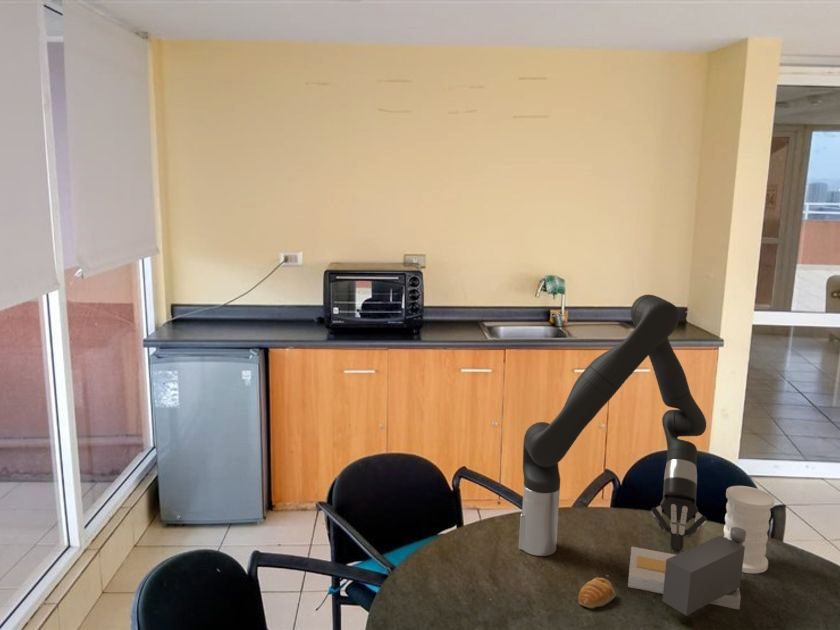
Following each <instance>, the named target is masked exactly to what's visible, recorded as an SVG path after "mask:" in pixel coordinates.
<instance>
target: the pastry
mask: <svg viewBox="0 0 840 630" xmlns="http://www.w3.org/2000/svg"><path fill="white" fill-rule="evenodd" d="M616 595H617V593H616V592H615V588H614V587H613V585H612V583H611V582H610V581H609V580H608V579H606V578H604V577H595V578H593V579H592V580H589V581H587V582H586V583H585V584H584V585H583V586H582V587H581V588H580V591H579V594H578V597H577V599H578V604H579V605H581V606H582V607H586V608H587V609H595V608H598V607H604V606H605V605H607V604H609V603H610V602H611V601H613V600H614V599H615V597H616Z"/></svg>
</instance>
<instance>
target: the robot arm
mask: <svg viewBox="0 0 840 630" xmlns="http://www.w3.org/2000/svg"><path fill="white" fill-rule="evenodd" d="M630 318H631V321H632V322H633V325H634V327H635V328H634V329H633V330H632V331H631V332H630V333H629V335H628V336H627V337H626V338H625V339H623V341H622V342H620V343H619V344H617V345H616V346H614V347H612V348H610V349H609V350H607V351H605V352H603V353H602V354H600V355H598V356H597V357H596V358H594V359H593V360H592V361H591V362H590V364H588V366H586V368H585V369H584V370H583V372H582V373H581V374H580V375H579V376H578V378H577V379H576V381H575V382H574V384H573V386H572V388H571V389H570V392H569V395H568V397H567V398H566V401H565V403H564V406H563V407H562V409H561V411H560V412H559V413H558V415H556V417H555V418H554V419H553V420H552V422H550V423H548V422H545V421H540V422H539V421H538V422H536V423H533V424H532V425H530V426H529V427H528V428H527V430H526V431H525V433H524V436H523V444H522V445H523V446H522V447H523V448H522V451H523V452H522V474H523V487H522V488H523V491H522V493H523V494H522V511H521V512H520V513H521V514H519V515H520V516H519V517H520V518H519V520H520V521H519V534H518V535H519V536H518V537H519V538H518V550H522V551H523V552H525V553H527V554H530V555H532V556H538V557H546V556H551V555H553V554H554V553H555V552H556V551H557V544H558V543H557V542H558V541H557V538H558V526H559V525H558V524H559V523H558V522H559V510H560V509H559V506H560V495H561V493H560V490H561V475H560V471H559V469H560V468H559V462H561V461H562V460H563V459H564V457H565V456H566V454H568V452H569V450H571V449H570V448H571V447H573V445H574V443H575V441H577V438H578V437H579V436H580V434H581V433H582V432H583V430H584V429H585V428H586V427H587V426H588V425H589V424H590V423H591V421H592V420H594V418H595V417H596V416H597V414H598V413H599V412H600V411H601V410H602V408H603V407H604V406H605V405H606V404H607V403H608V402H609V401H610V400H611V399H612V398H613V397H614V395H615V394H616V393H617V392H618V391H619V389H621V387H622V386H623V385H624V383H625V382H626V380H628V379H629V378H630V377H631V376H632V374H633V373H634V372H635V371H636V370H637V368H639V366H640V365H642V363H643V362H644V360H645V359H647V357H648V358H649V360H650V363H651V366H652V369H653V373H654V376H655V379H656V382H657V386H658V389H659V392H660V396H661V399H662V402H663V404H664V405H666V406H667V407H669V408H673V409H669V410H667V411H665V412H664V414H663V415H662V419H661V423H662V428H663V431H664V436H665V440H666V446H667V449H666V450H667V451H666V452H667V453H666V464H665V469H664V477H663V492H662V500H661V502H660V505H658V506H656V507H655V506H653V507H652V508H651V511H650V512H651V513H650V514H651V515H652V517H653V518H654V520H655V522H656V523H657V524H658V526H659V527H660V529H661V530H662V532H663V533H665V534H668V535H669V536H670V539H669V540H670V541H669V548H670V550H672V553H673V554H674V553H675V554H680V553H681V552H683V550H684V539H685V538H691V537H693V535H694V534H695V533H697V532H698V530H700V529H701V528H702V527H703V526H704V525H705V524H706V522H707V516H705V515H703V514H701V513H700V512H699V509H698V506H697V490H698V489H697V488H698V487H697V485H698V473H697V460H698V459H697V458H698V449H697V446H696V445H695V444H694V443H692V442H690V441H688V440H683V439H679V438H678V437H699V436H702V435H703V434H704V433H705V432H706V429H707V420H706V417H705V414H704V412H703V411H702V410H701V407H699V405H698V404H697V402H696V400H695V399H694V398H693V395H692V393H691V390H690V387H689V382H688V379H687V376H686V373H685V371H684V368H683V367H682V364H681V362H680V360H679V358H678V357H677V354H676V353H675V351H674V350H673V347H672V345H671V343H670V340H669V337H670V336H671V334H672V333H674V331H675V330H676V328H677V326H678V325H679V321H680V311H679V309H678V307H677V306H676V305H675V304H673V303H672V302H670V301H667V300H666V299H664V298H662V297H660V296H656V295H654V294H643V295H640V296H639V297H638V298H636V299H635V300H634V301H633V303H632V305H631V308H630ZM663 514H664V516H665V517H666V518H667V520H668V521H669V523H670V524H669V525H670V526H669V525H668V523H667V522H666V520H665V519H664V518H663V516H662V515H663ZM694 517H695V519H694V523H693V524H691V525H690V526H689V528H687V529H686V524H688V523H690V521H692V519H693V518H694ZM678 523H679V525H678V527H677V524H678ZM677 528H678V531H677ZM677 532H678V533H677Z"/></svg>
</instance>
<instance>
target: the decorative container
mask: <svg viewBox="0 0 840 630" xmlns="http://www.w3.org/2000/svg"><path fill="white" fill-rule="evenodd" d="M725 497H726V499H727V502H726V504H725V505H726V506H725V508H726V513H725V514H724V515H725V516H724V522H725V524H724V526H723V535H724V536H723V537H725V538H727V539H729V540H732V539H731V538H730V532H731V528H733V527H737V528H741V529H743V530H745V531H746V537H745V541H744V542H743V546H744V547H745V550H744V559H743V567H742V573H747V574H761V573H764V572H766V571H767V570H768V568H769V560H768V559H767V557H766V554H767V546H766V545H767V542H768V541H769V535H768V531H769V529H770V523H769V521H770V519H771V516H772V513H771V512H772V511H771V509H772V508H773V507H774V506H775V497H773V495H772V494H770V493H769V492H766V491H765V490H762V489H760V488H755V487H752V486H747V485H746V486H745V485H731V486H729V487H727V488H726V492H725Z"/></svg>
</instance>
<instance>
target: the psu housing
mask: <svg viewBox="0 0 840 630" xmlns="http://www.w3.org/2000/svg"><path fill="white" fill-rule="evenodd" d="M731 541H733V540H731ZM734 542H736V541H734ZM736 543H738V544H740V545H742V546H743V542H736ZM675 555H676V554H674V553H670V552H663V551H657V550H653V549H647V548H641V547H637V546H631V548H630V557H629V558H630V561H629V570H628V579H627V580H628V581H627V588H630V589H631V588H632V589H637V590H642V591H645V592H646V591H647V592H652V593H657V594H660V595H661V594H662V595H663V590H664V579H665V569H666V559H668V558H671V557H673V556H675ZM741 598H742V597H741V592H740V587H739V588H737V589H736V590H734V591H732V592H730V593H728V594H726V595H724V596H722V597H721V598H719V599H717V600H715V601H713V602H711V603H709V604H710V605H715V606H720V607H725V608H728V609H735V610H740V609H741V608H740V607H741V600H742V599H741ZM709 604H708V605H709Z"/></svg>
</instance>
